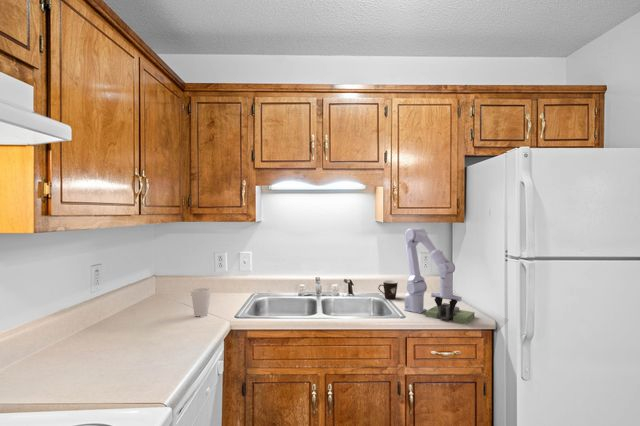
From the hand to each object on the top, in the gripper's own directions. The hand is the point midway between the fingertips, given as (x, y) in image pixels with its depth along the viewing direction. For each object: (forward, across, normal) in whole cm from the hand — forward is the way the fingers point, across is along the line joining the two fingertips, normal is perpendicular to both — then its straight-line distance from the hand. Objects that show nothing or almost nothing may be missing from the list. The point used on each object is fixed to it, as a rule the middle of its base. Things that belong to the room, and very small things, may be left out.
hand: (445, 313), depth 194 cm
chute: (+2, 0, 0) cm, 2 cm away
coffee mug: (+3, +43, -21) cm, 48 cm away
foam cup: (+3, +100, +71) cm, 123 cm away
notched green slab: (+3, 0, -6) cm, 7 cm away
